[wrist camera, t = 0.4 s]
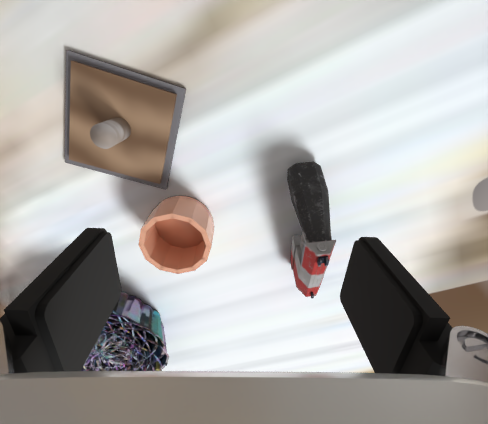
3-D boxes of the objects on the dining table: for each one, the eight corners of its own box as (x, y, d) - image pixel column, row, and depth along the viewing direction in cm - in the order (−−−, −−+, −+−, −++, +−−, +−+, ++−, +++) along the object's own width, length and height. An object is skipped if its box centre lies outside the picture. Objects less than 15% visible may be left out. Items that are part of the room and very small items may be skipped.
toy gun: (284, 237, 59) (296, 305, 50) (288, 164, 42) (308, 248, 33) (307, 234, 59) (324, 302, 50) (321, 160, 42) (350, 243, 33)
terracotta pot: (157, 188, 46) (144, 206, 39) (220, 205, 47) (217, 224, 41) (148, 240, 50) (135, 264, 44) (205, 254, 52) (201, 279, 46)
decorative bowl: (70, 247, 53) (31, 280, 44) (196, 304, 58) (184, 344, 49) (44, 327, 63) (8, 368, 54) (153, 370, 68) (137, 414, 59)
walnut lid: (74, 60, 36) (43, 58, 31) (177, 94, 38) (166, 97, 33) (71, 158, 42) (45, 171, 37) (160, 182, 44) (149, 198, 39)
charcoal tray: (68, 50, 36) (66, 49, 36) (186, 88, 39) (185, 89, 38) (67, 161, 43) (64, 162, 43) (166, 188, 46) (165, 189, 45)
